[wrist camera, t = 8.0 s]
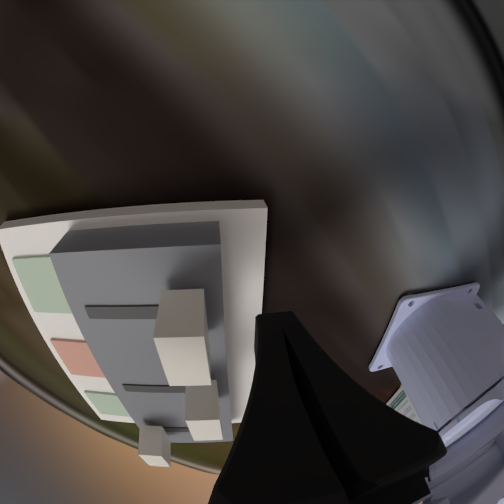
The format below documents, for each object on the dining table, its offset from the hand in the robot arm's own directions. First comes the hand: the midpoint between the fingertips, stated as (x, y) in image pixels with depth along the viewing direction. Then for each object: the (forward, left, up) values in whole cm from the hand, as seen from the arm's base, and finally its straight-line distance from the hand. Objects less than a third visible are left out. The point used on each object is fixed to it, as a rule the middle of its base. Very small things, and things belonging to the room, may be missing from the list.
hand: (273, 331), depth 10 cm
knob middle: (+3, +6, -1) cm, 7 cm away
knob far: (+7, +12, -1) cm, 14 cm away
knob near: (+3, 0, -1) cm, 3 cm away
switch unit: (+7, +6, -4) cm, 10 cm away
